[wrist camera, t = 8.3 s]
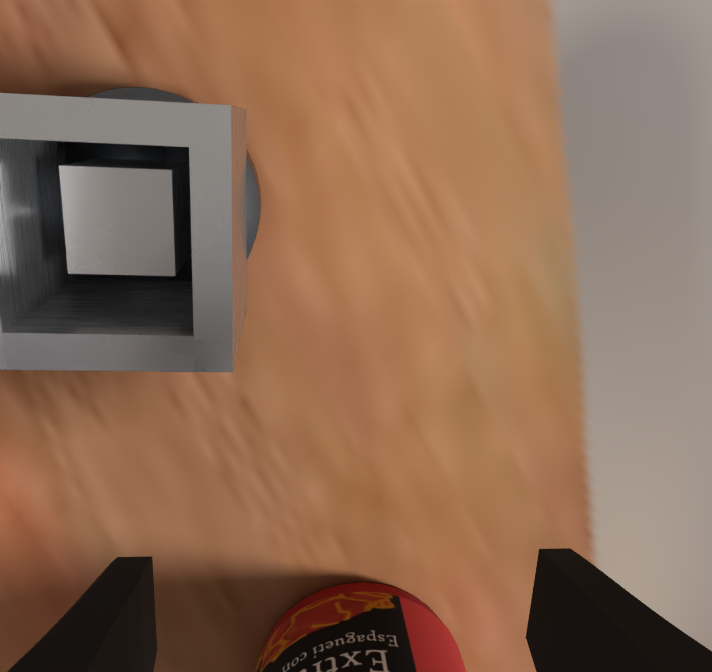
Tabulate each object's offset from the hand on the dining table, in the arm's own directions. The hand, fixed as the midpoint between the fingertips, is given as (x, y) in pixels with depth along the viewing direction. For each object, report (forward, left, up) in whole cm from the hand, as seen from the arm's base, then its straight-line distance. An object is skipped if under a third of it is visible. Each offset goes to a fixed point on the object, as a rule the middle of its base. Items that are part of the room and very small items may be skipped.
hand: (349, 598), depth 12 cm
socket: (-5, +6, -8) cm, 11 cm away
